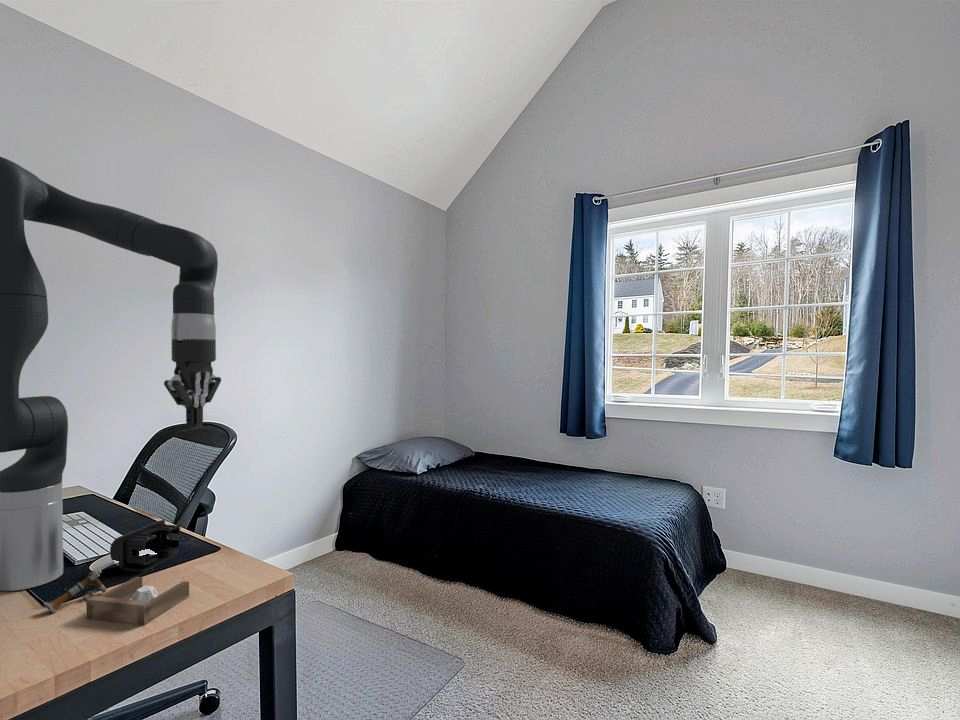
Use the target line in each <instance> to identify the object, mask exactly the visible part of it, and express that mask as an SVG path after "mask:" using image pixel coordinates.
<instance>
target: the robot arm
mask: <svg viewBox="0 0 960 720" xmlns="http://www.w3.org/2000/svg"><path fill="white" fill-rule="evenodd" d="M25 221H28V222H29V221H30V222H35V223H40V224H45V225H51V226H55V227H60V228H64V229H67V230H71V231H74V232H77V233H80V234H83V235H86V236H88V237H91V238H93V239H97V240H98V241H101V242H103V243H106V244H109V245H112V246H115V247H118V248H121V249H124V250H127V251H130V252H133V253H135V254H139V255H143V256H147V257H153V258H155V259H158V260H161V261H163V262H166V263H169V264H172V265H174V266H177V267H179V275H178V276H179V278H178V284H176V285H175V286H174V287H173V291H172V319H171V327H170V328H171V332H170V333H171V361H172V362H174V363H175V368H174V371H173V376H172V377H171V378H170V380H169V379H166V380H164V382H163V385H164V387H165V388H166V390H167V392H168V393H169V395H170V396H171V397H172V398H173V400H174V402H175V403H176V405H177V406H182V407H184V408H185V418H186V419H185V423H186V425H187V427H189V428H197V427H201V426H202V425H203V421H204V407H205V406H206V404H208V403H212V400H213V398H214V397H215V395H216V392H217V390H218V388H219V387H220V384H221V382H222V378H221V377H220V376H215V375H214V373H213V372H214V370H213V369H214V368H213V366H212V363H213V362H215V361H216V360H217V352H216V351H217V346H216V345H217V344H216V343H217V342H216V341H217V340H216V339H217V336H216V331H217V330H216V329H217V328H216V322H215V297H214V293H215V288H216V287H215V285H216V280H217V275H218V267H219V265H218V264H219V262H218V261H219V259H218V253H217V250H216V248H215V246H214V245H213V244H212V243H211V242H210V241H208V240H207V239H205V238H204V237H203V236H201V234H198V233H196V232H193V231H191V230H187V229H184V228H181V227H178V226H173V225H169V224H166V223H162V222H158V221H157V220H154V219H151V218H149V217H146V216H143V215H141V214H138V213H134V212H133V211H129V210H126V209H122V208H120V207H119V208H118V207H115V206H112V205H108V204H101V203H97V202H93V201H89V200H86V199H83V198H82V199H81V198H79V197H78V196H77V197H76V196H74V195H71V194H69V193H66V192H65V191H62V190H61V189H59V188H57V187H55V186H53V185H51V184H49V183H48V182H45V181H44V180H42V179H40V178H39V177H38V176H37V175H35V174H34V173H33V172H31V171H29V170H28V169H27V168H26V169H25V168H24V167H22V166H21V165H20V164H18V163H15V162H14V161H12V160H10V159H8V158H5V157H2V156H0V453H6V452H8V453H9V452H13V451H23V450H25V451H24V454H23V455H22V456H21V457H20V458H19V459H18V460H17V461H16V462H14V463H12V464H11V465H9V466H8V467H5V468H3V469H2V470H0V591H2V592H11V591H21V590H22V591H23V590H27V589H31V588H36V587H39V586H42V585H44V584H48V583H50V582H52V581H55V580H56V579H58V578H60V577H61V576H62V575H63V573H64V527H63V526H64V525H63V524H64V523H63V521H64V519H63V518H64V517H63V516H64V515H63V513H64V512H63V511H64V510H63V509H64V507H63V506H64V505H63V503H64V502H63V473H64V470H65V467H66V465H67V453H68V452H67V449H68V433H69V420H68V419H69V418H68V414H67V413H68V411H67V410H66V407H65V405H64V404H63V402H62V401H61V400H60V399H58V398H57V397H55V396H50V395H42V396H41V395H40V396H28V397H27V396H26V397H20V395H19V394H20V392H19V391H20V377H21V373H22V370H23V367H24V365H25V363H26V362H27V359H28V358H29V356H30V355H31V354H32V352H33V351H34V350H35V348H36V347H37V345H38V344H39V342H40V341H41V339H42V338H43V336H44V334H45V333H46V331H47V329H48V325H49V310H48V309H49V308H48V307H49V306H48V305H49V304H48V293H47V288H46V285H45V282H44V279H43V277H42V273H41V271H40V270H39V268H38V265H37V264H36V261H35V258H34V257H33V255H32V253H31V250H30V248H29V245H28V242H27V237H26V232H25Z"/></svg>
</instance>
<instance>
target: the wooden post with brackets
mask: <svg viewBox="0 0 960 720" xmlns="http://www.w3.org/2000/svg"><path fill="white" fill-rule="evenodd" d="M101 573H102V570H101V569H97V570H93V571H90V572H88V573H87V574H88V575H87V576H86V577H85V578H84V579H83V580H82V581H80V582H77V583H76V584H75V585H73V586H72V587H70V589H68V590H67V592H65V593H64V594H62V595H61V596H59V597H56V598H55V599H54V600H52V601H50V602H48V601H46V602H44V603H43V604H44V606H45V607H46V609H47V610H48V611H49V612H52V613H53V614H56V613H57V609H59V607H61V605H63V604H64V603H65V602H67V600H68V599H69V598H72V597H74V596H75V595H76V594H78V593H79V592H81V590H83V589H85V587H86V586H87V585H88V586H96V587H97V588H96V589H95V588H94V589H93V590H88V592H87V593H85V594H84V595H82V598H81V599H80V602H82V603H84V602H85V601H86V599H88V598H90V597H92V596H96V595H95V594H96V593H98V591H99V590H100V592H101V593H102V594H104V593H106V592H108V591H107V589H106V586H105V585H104V584H103V583H102V582H101V581H100V579H99V577H100V576H101V575H100V574H101ZM92 582H94V583H92ZM83 601H84V602H83Z"/></svg>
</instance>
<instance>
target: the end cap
mask: <svg viewBox="0 0 960 720" xmlns="http://www.w3.org/2000/svg"><path fill="white" fill-rule="evenodd" d="M170 534H173V535H175V534H176V535H181V526H180V525H174V524H166V520H165V519H161V520H158V521H154V522H153V523H150V524H148V525H145V526H143V527H142V526H141V527H140V528H138V529H135V530H133V531H130V532H128V533H126V534H123V535H121V536H118V537H117V538H115V539H114V540H113V541H112V543H111V545H110V548H109V554H110V555H109V556H110V558H111V561H112V560H116V561H119V565H118V566H117V567H118V568H120V569H121V570H123V571H125V572H130V571H132V573H141V572H142V573H146V572H148V571H150V570H152V569H153V567H154V568H155V566H156V567H157V565H158V566H159V564H160V565H161V563H162V562H163V563H165V562H167V561H169V560H171V559H173V558H174V556H175V557H177V556H179V555H180V551H179V549H180V548H181V539H178V538H177V539H176V538H170V537H169V535H170ZM145 549H150V550H152V551H154V552H155V553H157V554H158V555H157V556H155V557H149V555H150V554H146V555H143V556H139V551H141V550H145ZM178 554H179V555H178ZM176 555H177V556H176ZM172 557H173V558H172ZM170 558H171V559H170ZM168 559H169V560H168ZM166 560H167V561H166ZM164 561H165V562H164ZM163 563H162V564H163ZM151 568H152V569H151ZM149 569H150V570H149ZM147 570H148V571H147Z"/></svg>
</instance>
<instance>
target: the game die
mask: <svg viewBox="0 0 960 720" xmlns="http://www.w3.org/2000/svg"><path fill="white" fill-rule="evenodd" d="M157 596H159V593H158V590H157V589H156V588H155V587H154V586H153V585H144V586H143V585H142V587H141V588H139V589H137V590H136V592H135V593H134V595H133V596H132V598H131V600H138V601H147V602H149V601H150V600H152V599H154V598H155V597H157Z"/></svg>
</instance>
